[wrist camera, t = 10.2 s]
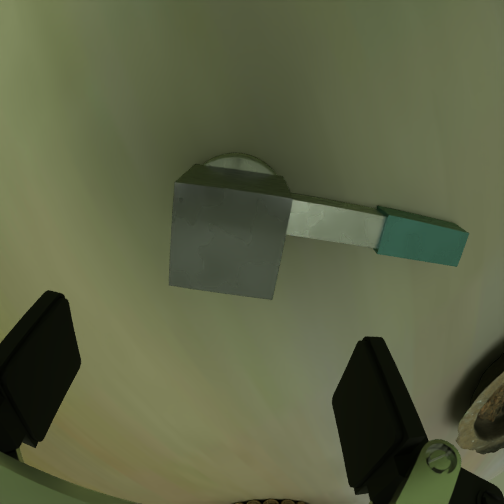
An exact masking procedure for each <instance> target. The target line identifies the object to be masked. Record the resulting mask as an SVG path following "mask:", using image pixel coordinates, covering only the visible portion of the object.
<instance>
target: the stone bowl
mask: <svg viewBox="0 0 504 504" xmlns="http://www.w3.org/2000/svg"><path fill="white" fill-rule="evenodd" d="M458 433H459V434H458V438H457V440H456V442H457V443H458V445H459V446H460V447H461V448H463V449H469V450H476V452H477V453H481V454H486V453H490V452H492V453H494V452H496V451H498V450H499V449H501V448H504V353H503V354H502V356H501V357H500V358H499V359H498V360H497V361H495V362H494V363H493V364H492V365H491V366H490V367H489V368H488V369H487V370H486V372H485V373H484V374H483V376H482V378H481V381H480V383H479V385H478V387H477V389H476V390H475V392H474V395H473V397H472V399H471V402H470V408H469V409H468V411H467V412H466V414H465V415H464V417H463V418H462V419H461V420H460V423H459V427H458Z"/></svg>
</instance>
